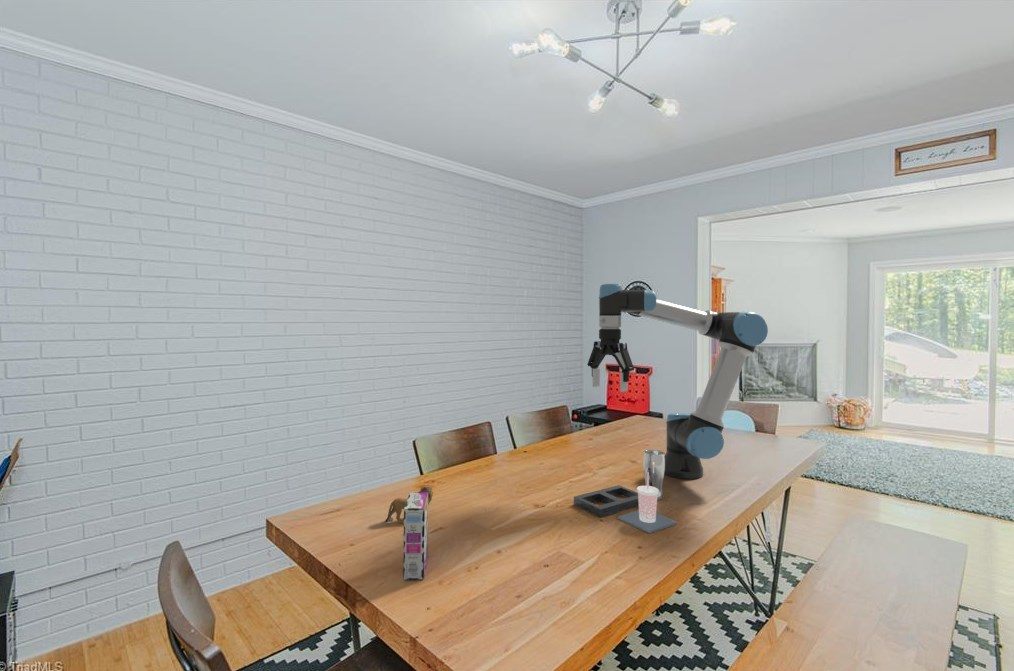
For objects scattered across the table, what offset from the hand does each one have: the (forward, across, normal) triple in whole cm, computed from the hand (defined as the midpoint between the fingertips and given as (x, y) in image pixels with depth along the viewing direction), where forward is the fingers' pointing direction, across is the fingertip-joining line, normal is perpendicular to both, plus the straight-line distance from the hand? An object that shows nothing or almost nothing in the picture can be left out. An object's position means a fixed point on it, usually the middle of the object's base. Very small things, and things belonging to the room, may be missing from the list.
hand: (609, 388), depth 167 cm
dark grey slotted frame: (+35, +12, -11) cm, 38 cm away
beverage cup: (+34, +27, -11) cm, 45 cm away
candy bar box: (+35, +16, -78) cm, 87 cm away
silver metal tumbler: (+35, +15, +6) cm, 38 cm away
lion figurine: (+35, -12, -69) cm, 78 cm away
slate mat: (+35, +27, -11) cm, 45 cm away
